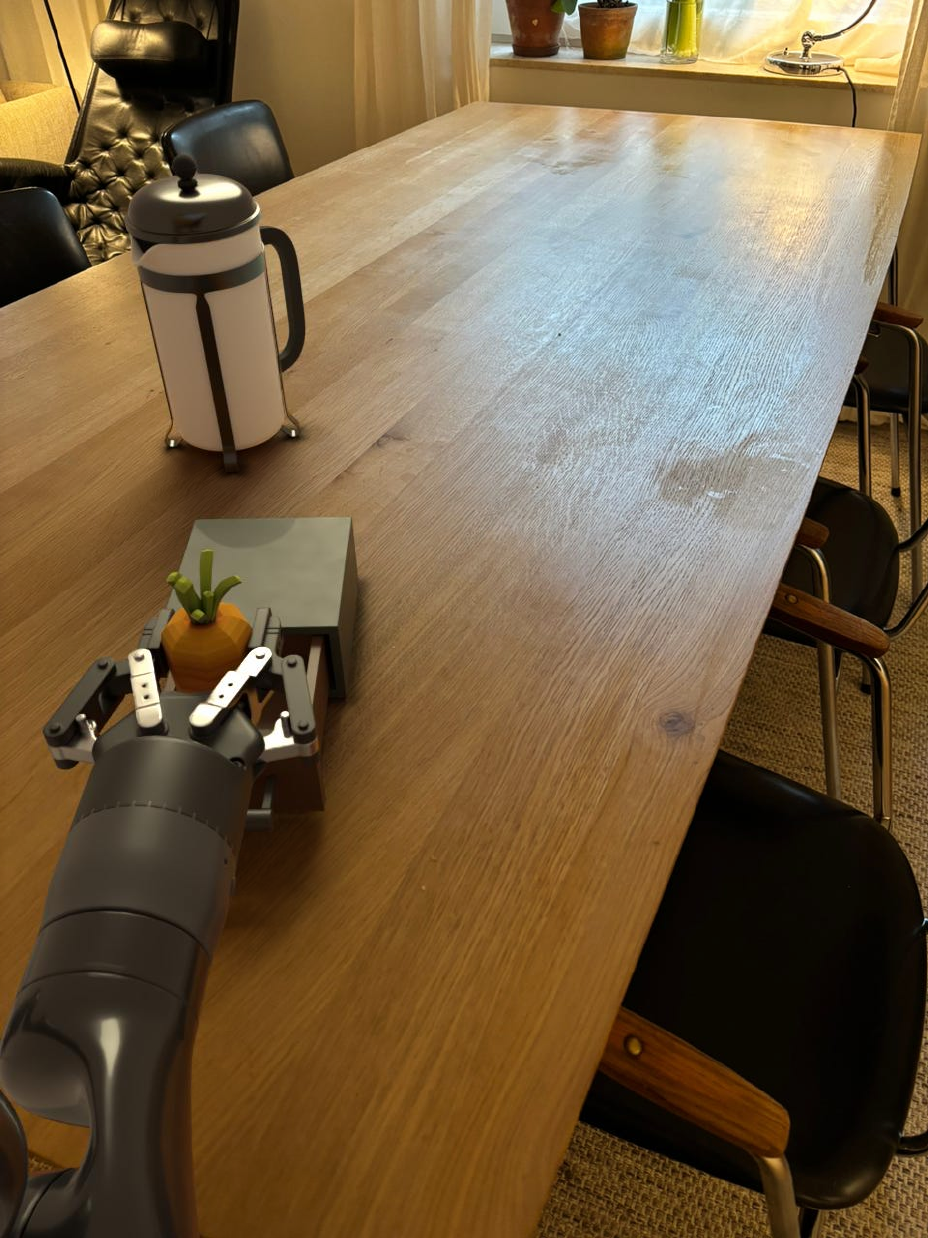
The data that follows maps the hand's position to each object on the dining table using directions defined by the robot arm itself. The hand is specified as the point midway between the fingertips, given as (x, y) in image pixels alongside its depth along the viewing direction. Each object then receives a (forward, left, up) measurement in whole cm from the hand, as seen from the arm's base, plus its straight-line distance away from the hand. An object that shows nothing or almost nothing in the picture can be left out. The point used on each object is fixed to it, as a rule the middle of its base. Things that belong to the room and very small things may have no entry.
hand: (218, 620), depth 57 cm
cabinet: (+5, +20, -20) cm, 28 cm away
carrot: (-1, -3, -9) cm, 10 cm away
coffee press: (+10, +56, -20) cm, 60 cm away
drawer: (0, +6, -19) cm, 20 cm away
